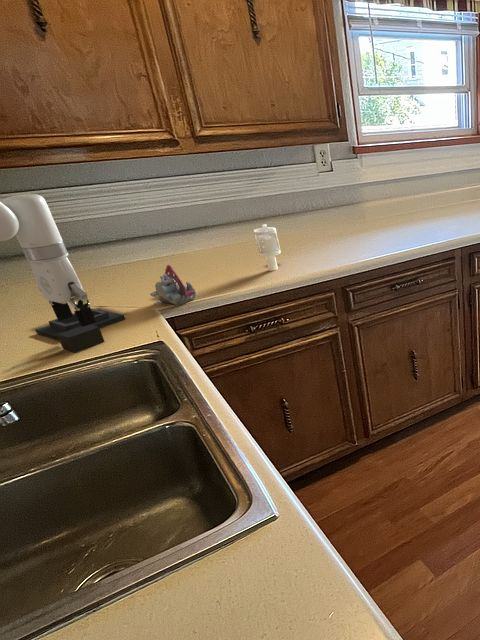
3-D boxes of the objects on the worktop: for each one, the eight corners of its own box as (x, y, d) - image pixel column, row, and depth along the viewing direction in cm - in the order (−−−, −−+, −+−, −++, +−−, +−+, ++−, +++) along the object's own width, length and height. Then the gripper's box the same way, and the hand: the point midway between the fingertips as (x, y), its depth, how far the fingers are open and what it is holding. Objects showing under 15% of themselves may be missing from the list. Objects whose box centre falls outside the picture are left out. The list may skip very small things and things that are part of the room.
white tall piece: (284, 265, 184) (275, 223, 177) (283, 270, 178) (274, 227, 171) (263, 267, 182) (253, 225, 175) (262, 273, 176) (252, 229, 169)
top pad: (74, 353, 123) (68, 337, 121) (63, 349, 125) (56, 334, 124) (104, 341, 129) (99, 326, 127) (93, 338, 131) (87, 323, 129)
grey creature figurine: (209, 289, 155) (176, 264, 145) (187, 319, 152) (152, 296, 142) (188, 283, 161) (154, 259, 151) (166, 313, 157) (131, 290, 147)
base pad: (62, 341, 130) (57, 331, 128) (36, 333, 135) (32, 324, 133) (125, 319, 142) (122, 309, 141) (100, 312, 147) (96, 303, 146)
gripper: (7, 252, 117) (40, 321, 125) (48, 260, 110) (80, 333, 118) (44, 244, 123) (73, 310, 131) (85, 250, 116) (113, 320, 124)
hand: (77, 321), depth 125 cm, fingers open, 9 cm apart
